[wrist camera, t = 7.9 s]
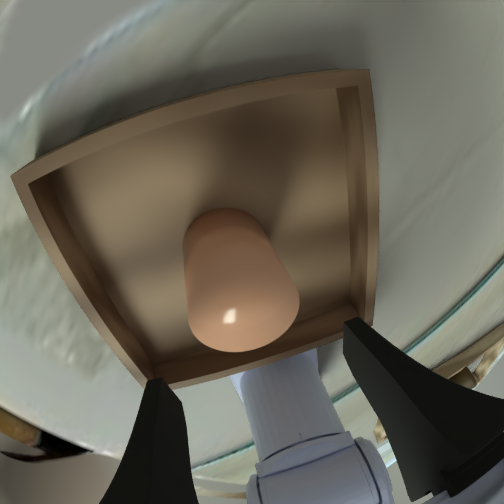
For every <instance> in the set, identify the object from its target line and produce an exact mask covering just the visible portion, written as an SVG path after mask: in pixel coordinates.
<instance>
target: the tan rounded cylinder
mask: <svg viewBox="0 0 504 504" xmlns="http://www.w3.org/2000/svg"><path fill="white" fill-rule="evenodd" d="M182 251H183V266H184V280H185V292H186V304H187V314H188V322H189V326H190V329H191V331H192V333H193V334H194V335H195V337H196V338H197V339H198V340H199V341H200V342H202V343H203V344H205V345H206V346H208V347H211V348H213V349H216V350H220V351H226V352H243V351H249V350H253V349H257V348H260V347H262V346H265V345H267V344H269V343H271V342H272V341H274V340H276V339H277V338H279V337H280V336H281V335H282V334H283V333H284V332H285V331H286V330H287V329H288V328H289V327H290V326H291V324H292V323H293V321H294V320H295V318H296V316H297V313H298V310H299V304H300V302H299V294H298V291H297V288H296V286H295V284H294V283H293V281H292V279H291V277H290V276H289V274H288V272H287V270H286V268H285V267H284V265H283V263H282V261H281V260H280V258H279V256H278V254H277V253H276V251H275V249H274V247H273V245H272V244H271V242H270V240H269V238H268V237H267V235H266V233H265V231H264V230H263V228H262V226H261V225H260V223H259V222H258V221H257V219H256V218H254V217H253V216H252V215H251V214H249V213H247V212H245V211H243V210H240V209H236V208H218V209H214V210H211V211H208V212H206V213H204V214H202V215H201V216H199V217H198V218H197V219H196V220H195V221H194V222H193V223H192V224H191V225H190V226H189V228H188V229H187V231H186V233H185V236H184V239H183V244H182Z"/></svg>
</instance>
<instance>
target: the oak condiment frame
mask: <svg viewBox="0 0 504 504" xmlns="http://www.w3.org/2000/svg"><path fill="white" fill-rule="evenodd" d="M503 345H504V322H503V323H502V324H501V325H500V326H498V327H497V328H496V329H494V330H493V331H492V332H490V333H489V334H487V335H486V336H485V337H483V338H482V339H480V340H479V341H478V342H476V343H475V344H473V345H472V346H470V347H469V348H467V349H466V350H464V351H463V352H461V353H460V354H458V355H457V356H455V357H453V358H452V359H450V360H449V361H447V362H445V363H444V364H442V365H440V366H439V367H437V368H435V369H434V370H432V371H433V372H435V373H437V374H439V375H441V376H443V377H444V378H446V379H449V378H451V377H452V376H454V375H455V374H457V373H458V372H460V371H461V370H462V369H463V368H464V367H467V366H469V365H470V364H471V363H473V362H474V361H476V360H477V359H479V358H480V357H481V356H483V355H484V354H485V353H486V354H485V355H484V357H483V359H482V361H481V362H480V364H479V366H478V367H477V369H476V371H475V372H474V373H473V376H474V378H475V380H476V382H477V384H478V383H479V382H481V381H482V379H483V378H484V376H485V375H486V373H487V372H488V370H489V369H490V367H491V365H492V364H493V362H494V361H495V359H496V357H497V356H498V354H499V352H500V351H501V349H502V347H503ZM373 434H374V436H375V438H376V440H377V442H378V443H380V442H382V441H384V440H386V439H388V438H387V435H386V433H385V431H384V428H383V426H382V424H381V422H380V420H379V419H378V422H377V425H376V427H375V430H374V432H373Z"/></svg>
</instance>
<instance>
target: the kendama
mask: <svg viewBox="0 0 504 504" xmlns="http://www.w3.org/2000/svg"><path fill="white" fill-rule="evenodd" d="M449 380H450V381H453V382H455V383H457V384H460V385H462V386H464V387H467V388H469V389H472V388H474V387H476V385H477V382H476V380H475V378H474V376H473V374H472V373H471V372H470V370H469V369H468V368H467V367H464V368H463V369H462V370H461V371H460V372H458V373H457V374H455V375H454V376H452V377H451V378H449Z"/></svg>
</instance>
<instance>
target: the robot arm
mask: <svg viewBox="0 0 504 504" xmlns="http://www.w3.org/2000/svg"><path fill="white" fill-rule="evenodd" d="M343 354H344V357H345V359H346V361H347V364H348V366H349V368H350V370H351V372H352V374H353V376H354V378H355V379H356V381H357V383H358V384H359V386H360V388H361V390H362V391H363V393H364V394H365V396H366V398H367V399H368V401H369V403H370V404H371V406H372V408H373V409H374V411H375V413H376V414H377V416H378V418H379V420H380V422H381V424H382V426H383V428H384V431H385V433H386V435H387V438H388V440H389V442H390V445H391V447H392V450H393V452H394V455H395V457H396V460H397V463H398V465H399V468H400V471H401V474H402V477H403V480H404V483H405V486H406V490H407V493H408V496H409V498H410V500H411V502H414V501H416V500H418V499H419V498H422V497H423V496H425V495H427V494H429V493H430V492H432V494H433V496H434V497H433V498H431V499H429V500H428V501H426V502H424V503H423V504H504V432H503V431H504V399H500V398H496V397H493V396H489V395H486V394H483V393H480V392H477V391H474V390H472V389H469V388H467V387H464V386H462V385H460V384H457V383H455V382H453V381H450V380H448V379H446V378H444V377H443V376H441V375H439V374H437V373H435V372H433V371H431V370H430V369H428V368H426V367H425V366H423V365H421V364H420V363H418V362H417V361H415V360H414V359H412V358H411V357H409V356H408V355H406V354H405V353H404V352H402V351H401V350H400V349H398V348H397V347H395V346H394V345H393V344H391V343H390V342H389V341H388V340H386V339H385V338H384V337H382V336H381V335H380V334H379V333H377V332H376V331H375V330H374V329H373V328H371V327H370V326H369V325H368V324H367V323H366V322H364V321H363V320H362V319H361V318H360V317H355V318H353V319H350V320H348V321H345V322H344V331H343ZM230 378H231V380H232V382H233V384H234V386H235V388H236V390H237V392H238V394H239V396H240V398H241V400H242V402H243V404H244V405H245V409H246V413H247V417H248V420H249V424H250V428H251V432H252V435H253V439H254V443H255V446H256V450H257V454H258V457H259V461H260V463H256V464H255V467H256V470H257V474H254V475H252V476H251V477H250V479H249V481H248V483H247V485H246V499H247V504H394V500H393V496H392V484H391V480H390V477H389V474H388V471H387V469H386V466H385V464H384V462H383V460H382V458H381V456H380V454H379V452H378V451H377V449H376V447H375V446H374V445H373V443H372V442H371V441H369V440H367V439H364V438H362V437H358V438H355V439H354V440H353V438H352V436H351V434H350V431H346V432H345V430H344V428H343V425H342V423H341V421H340V419H339V417H338V414H337V412H336V410H335V408H334V406H333V404H332V401H331V399H330V397H329V395H328V393H327V391H326V389H325V386H324V384H323V382H322V380H321V378H320V376H319V373H318V359H317V348H314V349H312V350H309V351H306V352H303V353H300V354H297V355H295V356H292V357H289V358H286V359H283V360H280V361H277V362H273V363H270V364H267V365H264V366H261V367H257V368H254V369H251V370H247V371H244V372H241V373H237V374H234V375H230ZM99 504H199V503H198V500H197V496H196V492H195V488H194V484H193V479H192V473H191V466H190V456H189V446H188V436H187V426H186V421H185V416H184V411H183V406H182V402H181V401H180V400H179V398H178V397H177V396H176V395H175V393H174V392H173V391H172V390H171V388H170V387H169V386H168V385H167V383H166V382H165V381H164V379H163V378H162V377H160V378H156V379H151V380H148V381H147V382H146V386H145V390H144V393H143V397H142V400H141V404H140V407H139V411H138V414H137V417H136V421H135V424H134V427H133V430H132V433H131V436H130V439H129V442H128V445H127V447H126V450H125V453H124V455H123V458H122V460H121V463H120V465H119V467H118V469H117V472H116V474H115V476H114V478H113V480H112V482H111V484H110V486H109V488H108V489H107V491H106V493H105V495H104V497H103V498H102V500H101V501H100V503H99Z"/></svg>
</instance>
